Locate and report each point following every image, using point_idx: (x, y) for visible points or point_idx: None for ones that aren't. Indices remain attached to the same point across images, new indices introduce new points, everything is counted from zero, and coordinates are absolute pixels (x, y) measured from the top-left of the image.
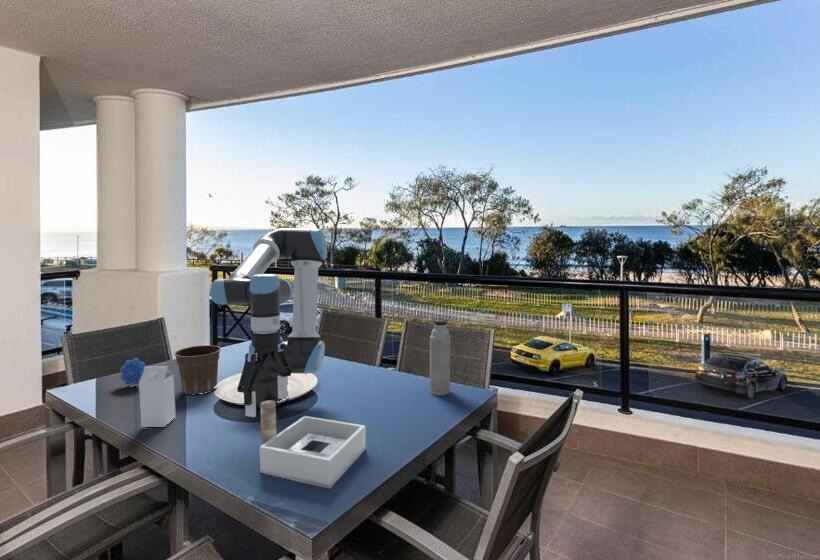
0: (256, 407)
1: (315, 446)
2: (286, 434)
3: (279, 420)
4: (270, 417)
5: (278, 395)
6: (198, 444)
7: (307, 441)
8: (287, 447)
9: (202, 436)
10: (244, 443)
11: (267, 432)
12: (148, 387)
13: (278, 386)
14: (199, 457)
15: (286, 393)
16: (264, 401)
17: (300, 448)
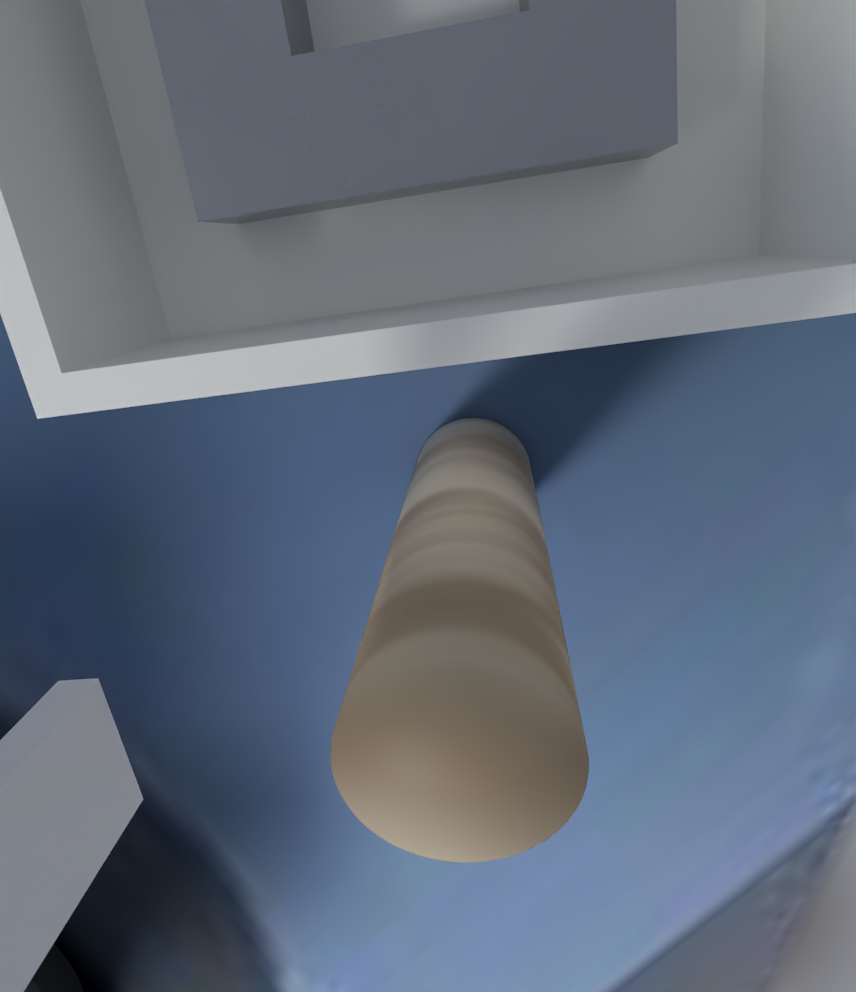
0: (66, 964)
1: (300, 29)
2: (449, 314)
3: None
4: (512, 568)
5: (116, 829)
6: (605, 919)
7: (345, 85)
8: (444, 303)
9: (517, 964)
10: None
11: (533, 514)
12: None
13: (13, 989)
14: (735, 810)
15: (18, 746)
16: (429, 851)
17: (508, 35)
